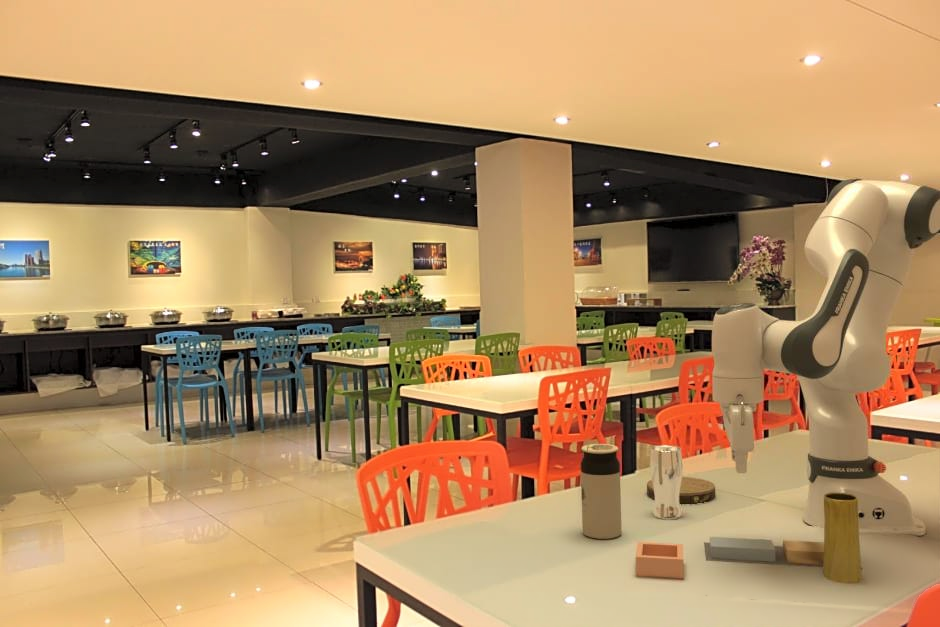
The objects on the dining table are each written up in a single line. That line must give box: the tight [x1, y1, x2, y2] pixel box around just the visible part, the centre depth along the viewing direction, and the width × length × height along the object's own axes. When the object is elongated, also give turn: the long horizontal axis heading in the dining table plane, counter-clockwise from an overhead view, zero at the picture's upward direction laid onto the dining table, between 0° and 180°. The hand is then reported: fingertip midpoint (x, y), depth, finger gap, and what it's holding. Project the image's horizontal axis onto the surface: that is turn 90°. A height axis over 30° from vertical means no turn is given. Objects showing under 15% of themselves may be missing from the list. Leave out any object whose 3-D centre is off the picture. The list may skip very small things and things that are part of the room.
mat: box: [703, 541, 863, 570], centre depth 141 cm, size 26×10×1 cm, turn 75°
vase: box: [822, 493, 863, 584], centre depth 130 cm, size 6×6×14 cm
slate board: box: [709, 536, 775, 562], centre depth 141 cm, size 11×6×2 cm, turn 75°
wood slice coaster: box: [646, 476, 716, 506], centre depth 185 cm, size 16×16×3 cm
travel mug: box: [580, 443, 623, 540], centre depth 158 cm, size 8×8×18 cm
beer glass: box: [649, 444, 684, 520], centre depth 169 cm, size 7×7×15 cm
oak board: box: [782, 540, 824, 564], centre depth 138 cm, size 11×6×2 cm, turn 75°
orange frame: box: [635, 541, 685, 580], centre depth 135 cm, size 8×8×4 cm
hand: (738, 466), depth 141 cm, fingers open, 8 cm apart
